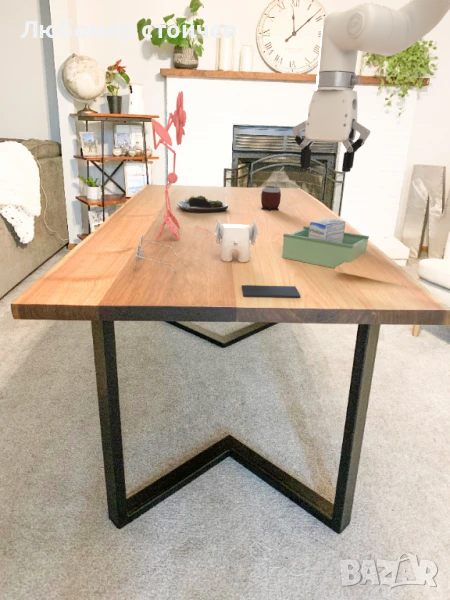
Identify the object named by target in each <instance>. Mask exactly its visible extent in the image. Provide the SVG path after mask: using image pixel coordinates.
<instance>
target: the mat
mask: <svg viewBox="0 0 450 600" xmlns="http://www.w3.org/2000/svg"><path fill="white" fill-rule="evenodd" d="M241 291H242V295H243V298H281V299H282V298H284V299H285V298H286V299H287V298H291V299H300V298H301V294H300V292H299V291H298V289H297V287H296V286H295V285H291V286H290V285H257V284H255V285H254V284H253V285H251V284H250V285H249V284H241Z"/></svg>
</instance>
